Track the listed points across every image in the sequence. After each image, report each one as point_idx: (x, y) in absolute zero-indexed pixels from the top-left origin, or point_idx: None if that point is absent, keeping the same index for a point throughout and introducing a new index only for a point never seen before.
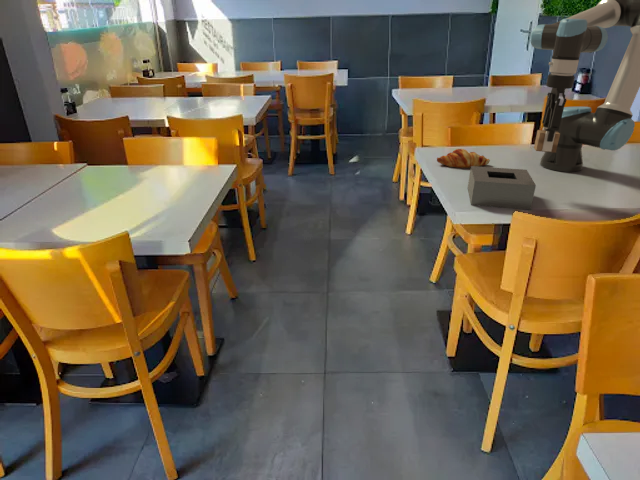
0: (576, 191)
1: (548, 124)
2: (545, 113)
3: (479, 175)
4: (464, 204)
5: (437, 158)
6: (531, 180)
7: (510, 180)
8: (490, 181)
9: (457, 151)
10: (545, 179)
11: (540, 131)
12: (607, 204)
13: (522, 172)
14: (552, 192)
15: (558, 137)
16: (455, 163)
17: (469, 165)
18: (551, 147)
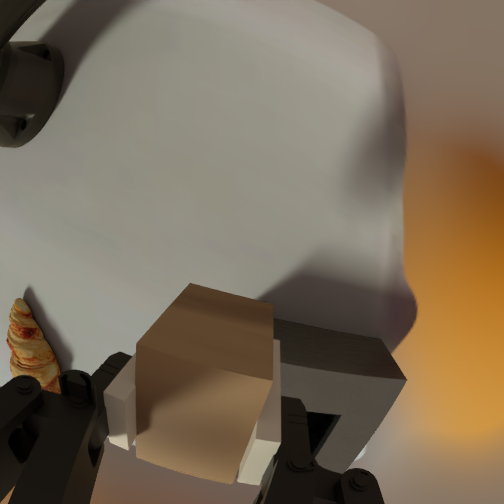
0: (230, 115)
1: (92, 436)
2: (10, 485)
3: None
4: None
5: None
6: (362, 380)
7: (348, 431)
8: (344, 466)
9: None
10: (111, 174)
11: (189, 469)
12: (354, 83)
13: None
14: (240, 206)
15: (270, 366)
16: (60, 390)
17: (54, 361)
18: (278, 358)
